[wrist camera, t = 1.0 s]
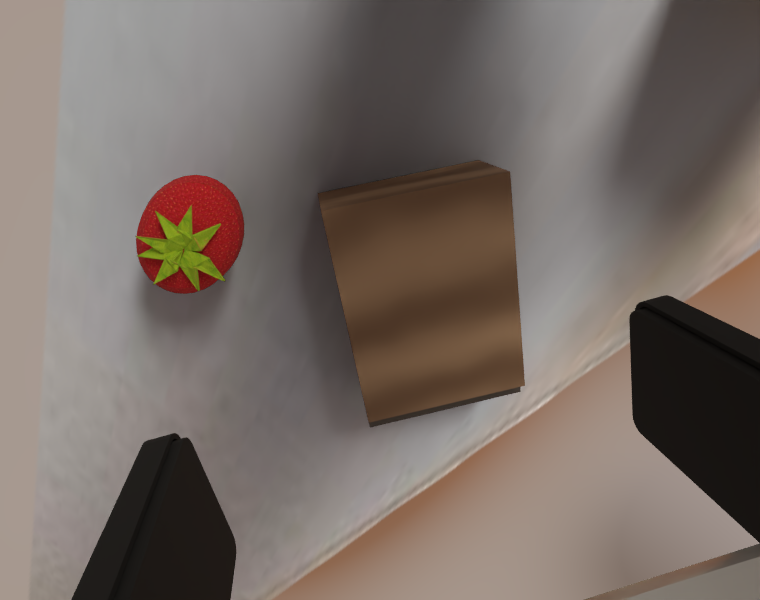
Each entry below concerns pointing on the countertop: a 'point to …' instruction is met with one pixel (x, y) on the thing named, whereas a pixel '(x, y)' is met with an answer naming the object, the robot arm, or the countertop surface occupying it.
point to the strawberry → (190, 234)
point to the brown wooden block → (428, 288)
